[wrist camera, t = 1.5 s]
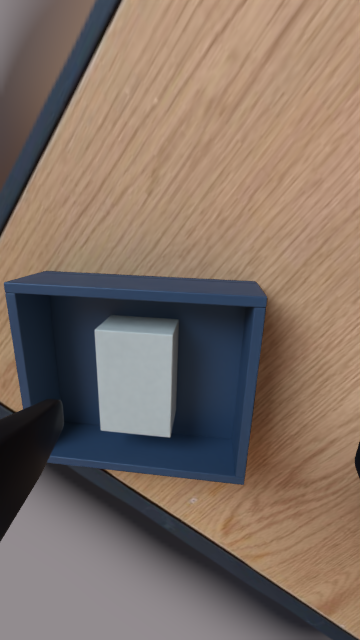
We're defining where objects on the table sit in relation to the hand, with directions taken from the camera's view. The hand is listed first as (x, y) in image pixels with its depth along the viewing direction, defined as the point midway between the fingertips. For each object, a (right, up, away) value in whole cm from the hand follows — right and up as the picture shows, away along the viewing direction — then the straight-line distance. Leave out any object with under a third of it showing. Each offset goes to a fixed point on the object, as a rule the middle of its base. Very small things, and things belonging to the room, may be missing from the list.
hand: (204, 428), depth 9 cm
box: (-3, 0, +13) cm, 13 cm away
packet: (-3, 0, +12) cm, 12 cm away
